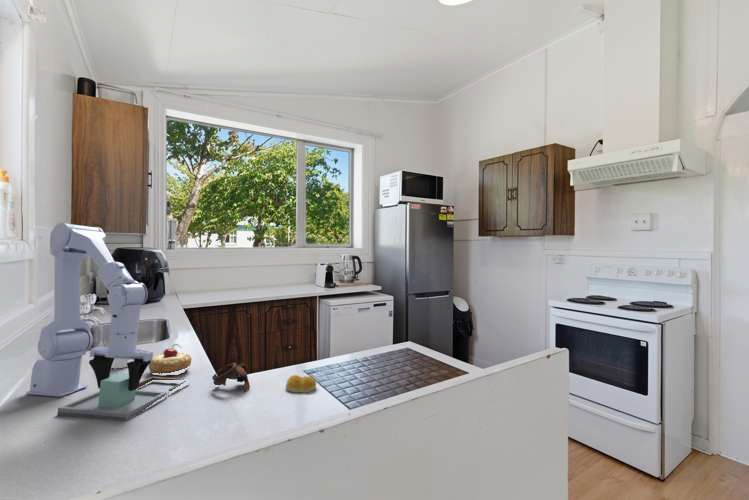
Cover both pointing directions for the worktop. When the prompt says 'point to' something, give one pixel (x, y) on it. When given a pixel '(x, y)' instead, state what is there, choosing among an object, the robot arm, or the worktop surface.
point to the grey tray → (90, 409)
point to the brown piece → (232, 375)
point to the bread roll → (300, 384)
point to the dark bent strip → (159, 379)
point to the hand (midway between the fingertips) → (117, 388)
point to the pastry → (169, 361)
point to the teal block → (115, 391)
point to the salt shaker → (120, 363)
